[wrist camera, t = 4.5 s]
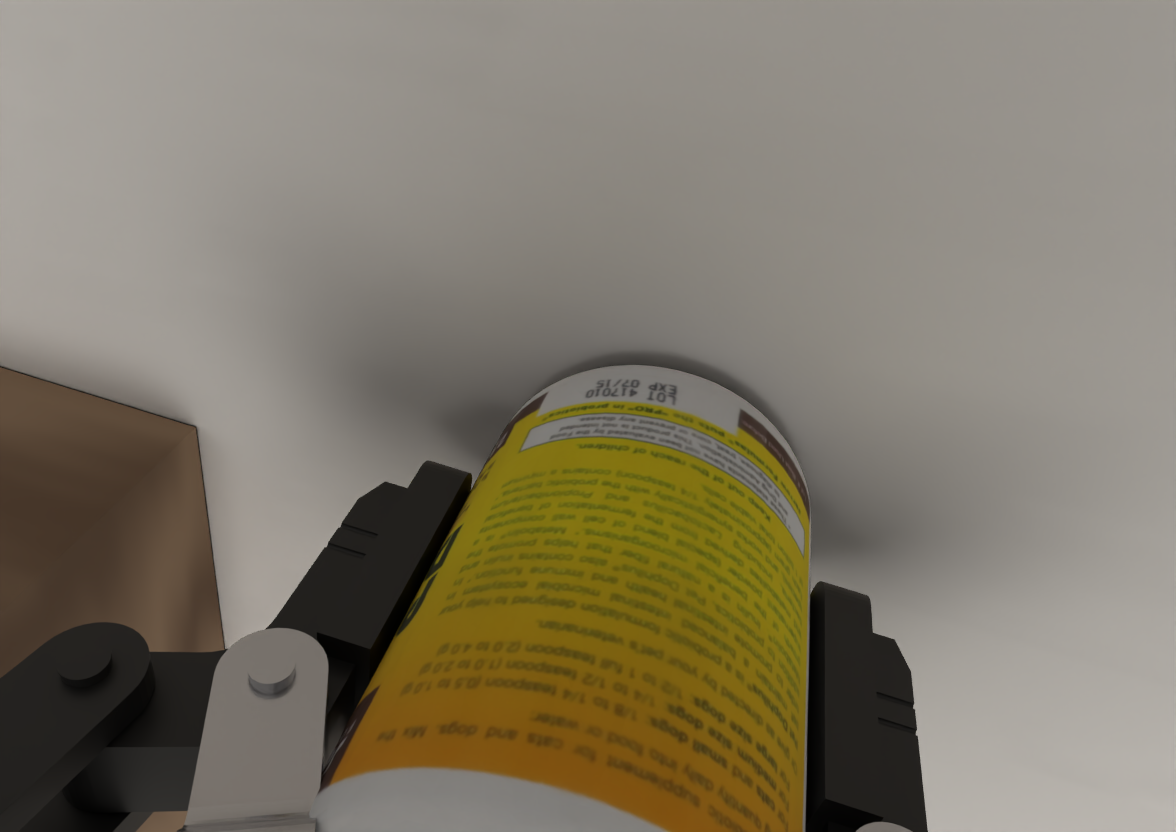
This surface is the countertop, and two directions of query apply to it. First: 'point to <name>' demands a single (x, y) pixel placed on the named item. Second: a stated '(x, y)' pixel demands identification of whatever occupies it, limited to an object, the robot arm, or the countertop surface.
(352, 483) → the countertop surface
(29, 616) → the walnut riser
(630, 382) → the supplement bottle
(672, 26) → the countertop surface
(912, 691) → the robot arm
